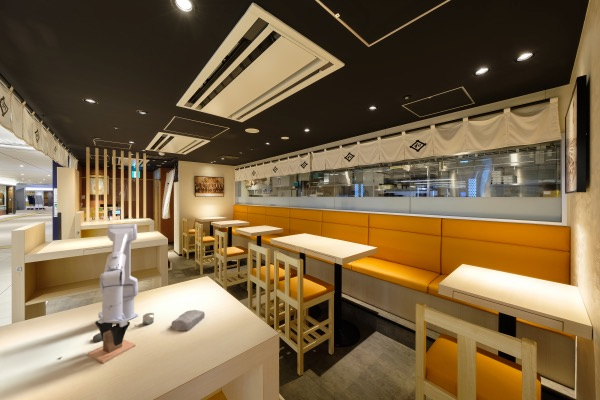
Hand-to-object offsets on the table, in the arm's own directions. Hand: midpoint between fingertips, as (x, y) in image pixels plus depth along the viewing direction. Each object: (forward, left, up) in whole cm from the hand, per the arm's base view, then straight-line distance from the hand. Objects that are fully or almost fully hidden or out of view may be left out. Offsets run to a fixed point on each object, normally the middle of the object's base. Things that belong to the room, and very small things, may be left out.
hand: (112, 341), depth 83 cm
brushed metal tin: (-7, +17, -3) cm, 19 cm away
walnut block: (0, 0, -3) cm, 3 cm away
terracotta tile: (0, 0, -3) cm, 3 cm away
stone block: (+8, +25, -4) cm, 26 cm away
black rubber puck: (-12, +2, -3) cm, 13 cm away
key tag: (-13, -10, -4) cm, 17 cm away
